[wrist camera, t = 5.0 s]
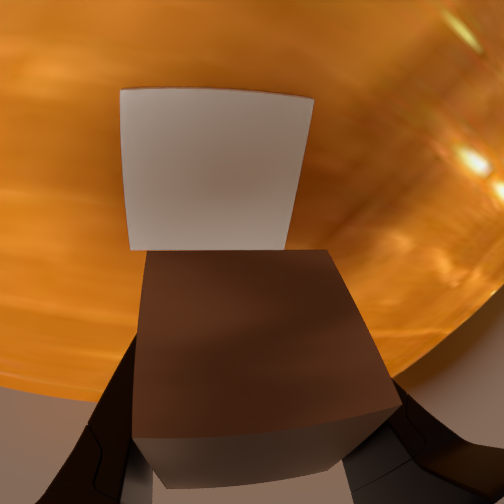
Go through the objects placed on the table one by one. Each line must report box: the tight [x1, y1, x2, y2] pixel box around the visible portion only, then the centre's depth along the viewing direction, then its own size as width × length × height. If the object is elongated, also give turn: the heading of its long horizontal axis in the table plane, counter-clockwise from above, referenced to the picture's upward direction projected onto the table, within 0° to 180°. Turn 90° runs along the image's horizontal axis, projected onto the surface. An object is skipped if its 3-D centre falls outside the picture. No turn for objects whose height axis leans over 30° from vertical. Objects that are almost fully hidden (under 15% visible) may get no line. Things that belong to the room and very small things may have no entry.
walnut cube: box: [132, 250, 402, 489], centre depth 8 cm, size 5×5×5 cm
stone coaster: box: [120, 87, 315, 250], centre depth 18 cm, size 10×10×1 cm
